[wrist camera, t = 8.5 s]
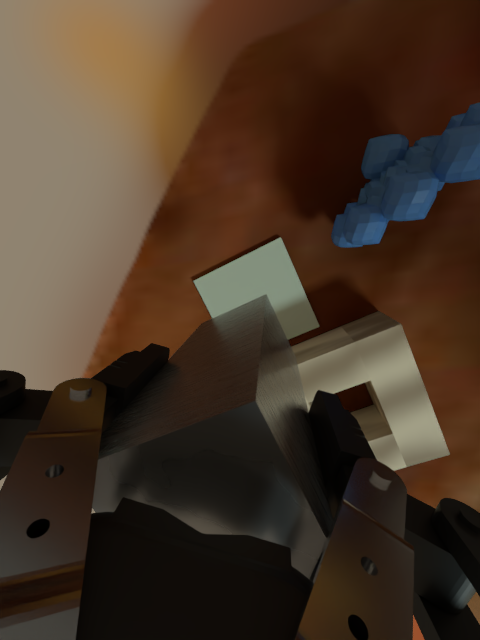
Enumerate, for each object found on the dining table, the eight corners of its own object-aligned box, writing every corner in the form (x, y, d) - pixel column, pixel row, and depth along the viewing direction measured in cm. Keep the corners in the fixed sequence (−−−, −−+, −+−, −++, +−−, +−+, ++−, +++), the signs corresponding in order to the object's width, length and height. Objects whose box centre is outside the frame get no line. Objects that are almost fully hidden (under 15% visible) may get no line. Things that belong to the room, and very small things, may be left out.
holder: (421, 422, 31) (450, 454, 26) (303, 459, 33) (309, 494, 29) (378, 310, 28) (401, 324, 23) (254, 361, 31) (252, 382, 26)
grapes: (403, 111, 24) (531, -21, 12) (449, 173, 24) (610, 106, 13) (297, 209, 26) (317, 180, 15) (341, 262, 27) (392, 273, 16)
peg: (295, 357, 17) (346, 575, 6) (232, 382, 18) (167, 614, 7) (266, 293, 17) (255, 400, 5) (201, 323, 17) (66, 471, 6)
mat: (319, 325, 29) (319, 326, 29) (235, 360, 31) (234, 361, 31) (280, 237, 27) (280, 237, 27) (194, 280, 29) (193, 280, 29)
